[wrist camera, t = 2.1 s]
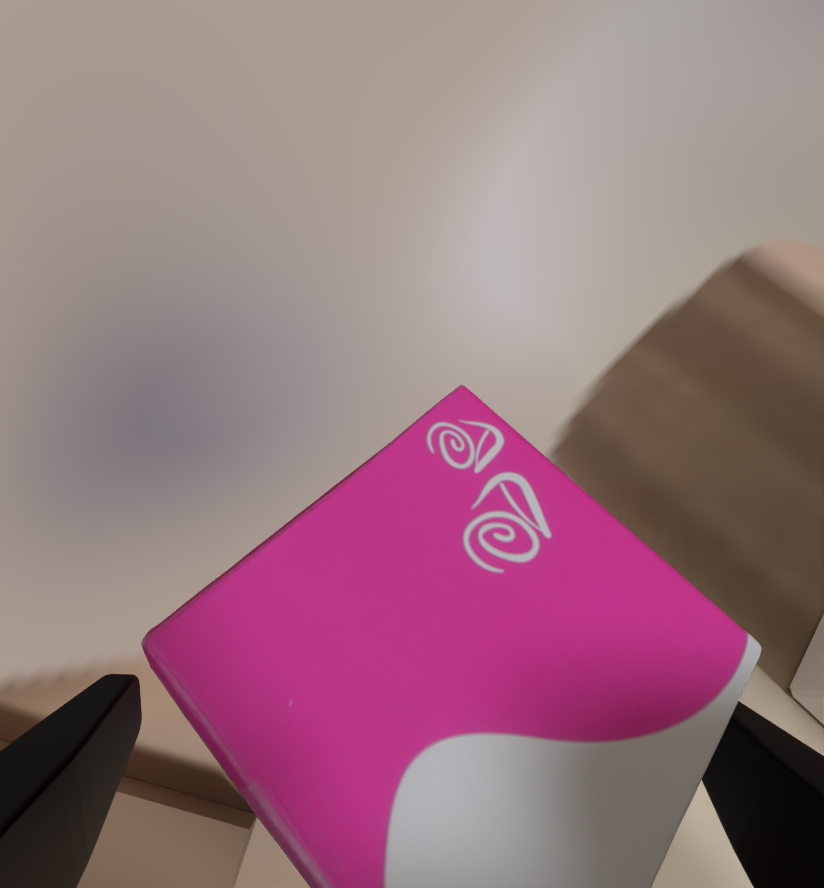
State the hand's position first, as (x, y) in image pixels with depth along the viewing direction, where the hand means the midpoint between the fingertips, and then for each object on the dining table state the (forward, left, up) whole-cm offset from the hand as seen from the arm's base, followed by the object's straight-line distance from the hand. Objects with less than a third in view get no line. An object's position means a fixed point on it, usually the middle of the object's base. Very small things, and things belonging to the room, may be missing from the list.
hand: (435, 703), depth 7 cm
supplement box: (+1, 0, -9) cm, 9 cm away
